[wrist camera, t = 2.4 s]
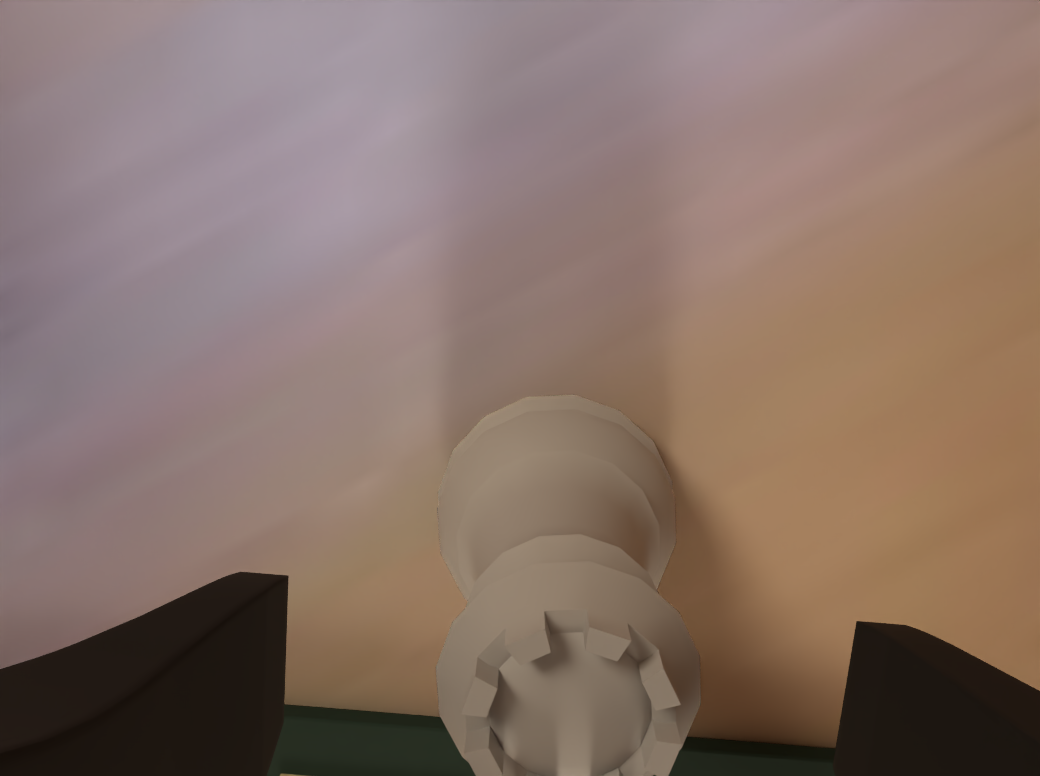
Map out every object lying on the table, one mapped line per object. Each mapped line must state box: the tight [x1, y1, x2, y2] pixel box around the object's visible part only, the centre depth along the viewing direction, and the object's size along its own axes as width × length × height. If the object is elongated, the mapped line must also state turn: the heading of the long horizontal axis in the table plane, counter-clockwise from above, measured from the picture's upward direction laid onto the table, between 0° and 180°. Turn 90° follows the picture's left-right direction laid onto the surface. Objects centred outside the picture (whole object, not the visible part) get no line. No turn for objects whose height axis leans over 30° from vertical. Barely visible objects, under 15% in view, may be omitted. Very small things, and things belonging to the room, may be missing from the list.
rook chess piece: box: [436, 394, 701, 776], centre depth 15 cm, size 4×4×8 cm
